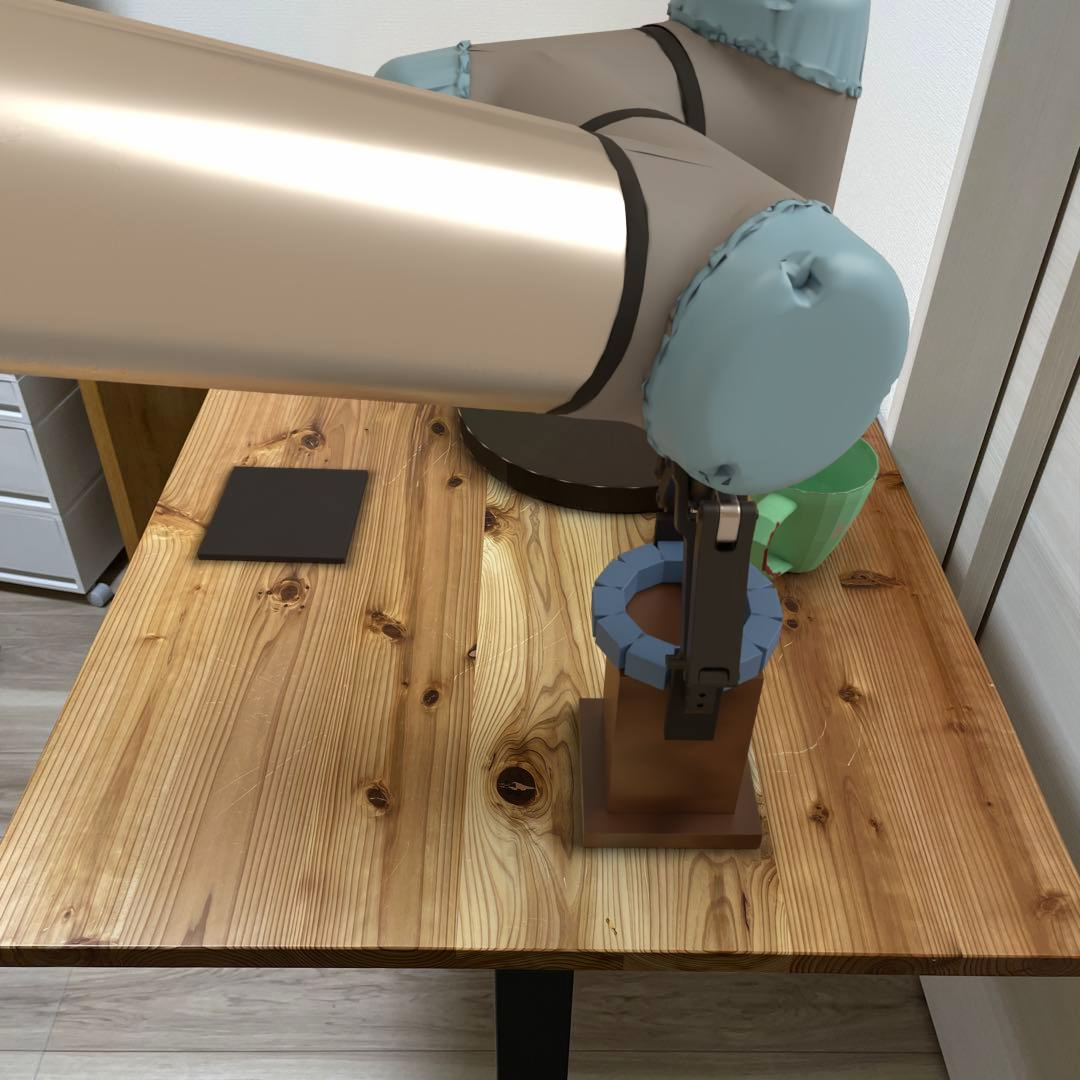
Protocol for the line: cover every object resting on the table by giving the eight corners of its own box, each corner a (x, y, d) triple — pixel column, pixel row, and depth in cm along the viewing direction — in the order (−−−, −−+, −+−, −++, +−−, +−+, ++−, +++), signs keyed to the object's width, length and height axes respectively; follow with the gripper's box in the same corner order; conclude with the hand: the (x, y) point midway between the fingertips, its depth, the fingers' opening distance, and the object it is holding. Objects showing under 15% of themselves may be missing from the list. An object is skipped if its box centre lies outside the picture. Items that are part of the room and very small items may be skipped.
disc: (407, 384, 107) (405, 357, 106) (655, 315, 119) (657, 291, 117) (556, 556, 88) (557, 527, 86) (836, 454, 99) (842, 427, 97)
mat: (345, 563, 87) (344, 558, 86) (198, 559, 87) (196, 553, 86) (368, 475, 96) (367, 469, 95) (235, 471, 96) (234, 465, 96)
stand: (583, 847, 67) (593, 697, 58) (578, 711, 75) (586, 562, 66) (759, 848, 67) (796, 699, 58) (734, 713, 75) (764, 563, 66)
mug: (765, 501, 93) (783, 405, 87) (871, 544, 89) (899, 446, 83) (682, 595, 84) (695, 494, 78) (797, 647, 80) (821, 546, 74)
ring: (595, 692, 57) (597, 669, 56) (588, 562, 66) (589, 539, 64) (791, 694, 58) (797, 671, 56) (760, 564, 66) (765, 541, 65)
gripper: (864, 482, 41) (773, 825, 55) (765, 226, 58) (716, 536, 72) (667, 479, 40) (627, 824, 55) (628, 224, 58) (605, 535, 72)
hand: (678, 660), depth 64 cm, fingers closed on ring, 11 cm apart
